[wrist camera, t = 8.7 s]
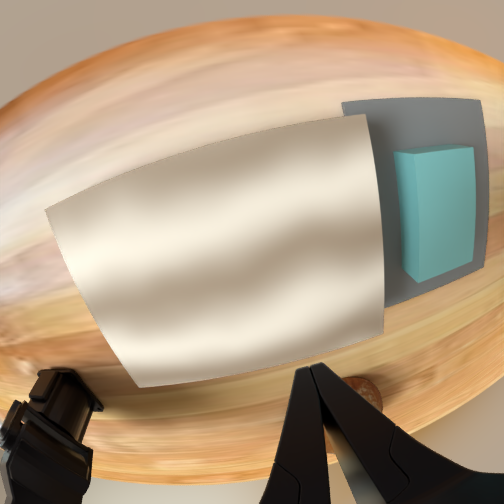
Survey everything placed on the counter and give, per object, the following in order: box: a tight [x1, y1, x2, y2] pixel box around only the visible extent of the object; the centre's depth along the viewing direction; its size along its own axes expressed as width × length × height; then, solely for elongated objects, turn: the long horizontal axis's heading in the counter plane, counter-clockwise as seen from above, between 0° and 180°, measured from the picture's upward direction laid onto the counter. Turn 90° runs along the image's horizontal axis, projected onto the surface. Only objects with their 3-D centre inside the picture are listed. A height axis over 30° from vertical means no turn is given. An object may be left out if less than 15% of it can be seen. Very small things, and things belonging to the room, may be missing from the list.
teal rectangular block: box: [393, 144, 476, 283], centre depth 17 cm, size 9×6×2 cm, turn 14°
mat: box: [341, 98, 489, 308], centre depth 18 cm, size 16×14×1 cm
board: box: [45, 114, 384, 388], centre depth 17 cm, size 14×18×4 cm
